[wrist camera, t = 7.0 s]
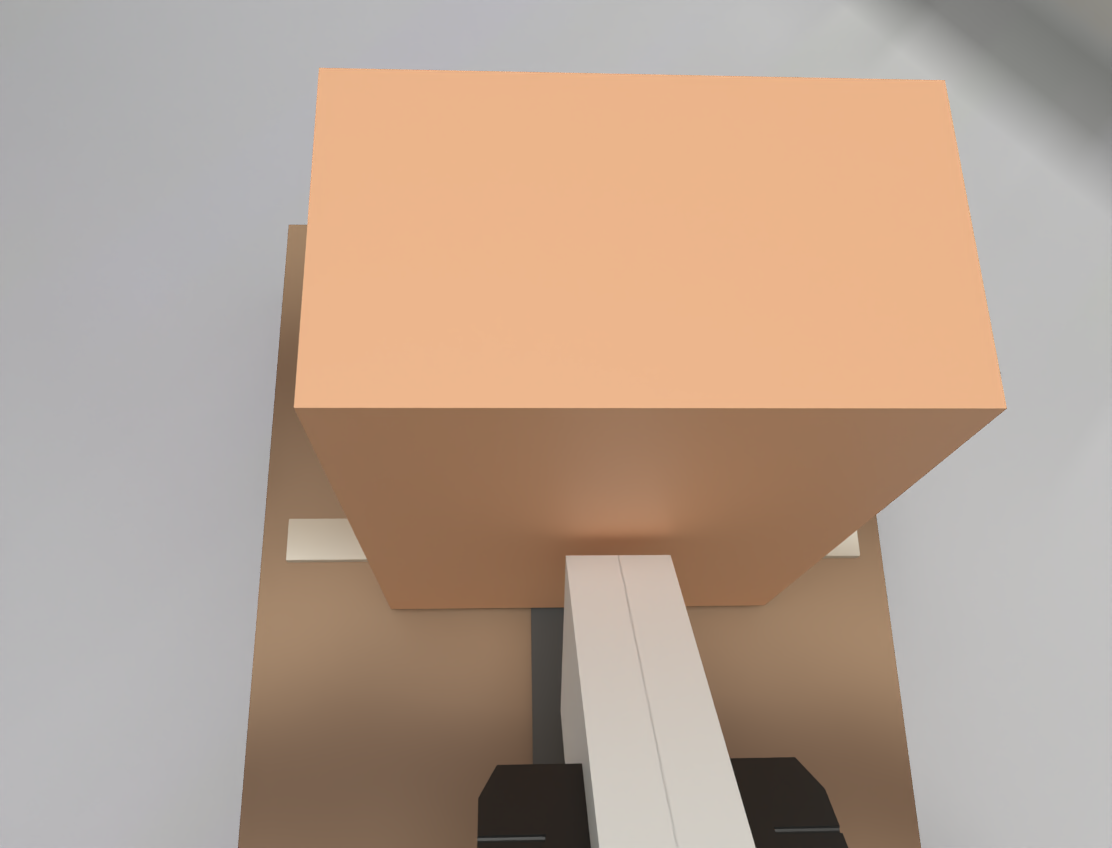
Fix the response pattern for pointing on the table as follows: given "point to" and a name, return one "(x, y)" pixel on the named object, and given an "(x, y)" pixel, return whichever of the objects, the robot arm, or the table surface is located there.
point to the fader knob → (632, 322)
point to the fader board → (520, 677)
